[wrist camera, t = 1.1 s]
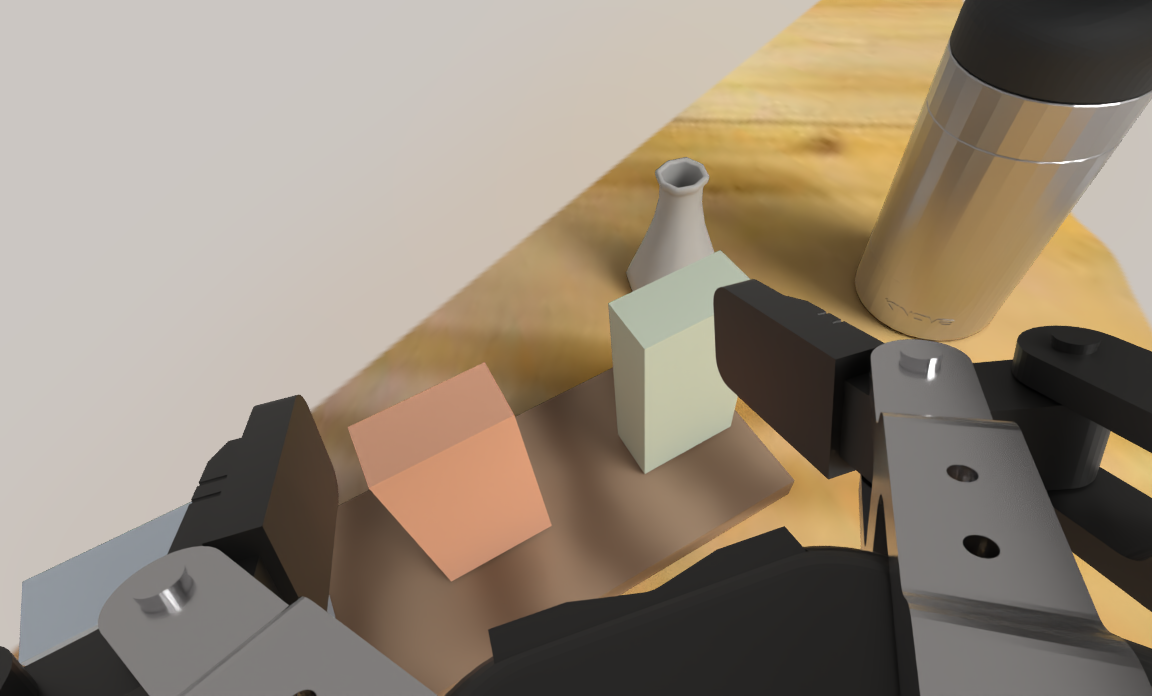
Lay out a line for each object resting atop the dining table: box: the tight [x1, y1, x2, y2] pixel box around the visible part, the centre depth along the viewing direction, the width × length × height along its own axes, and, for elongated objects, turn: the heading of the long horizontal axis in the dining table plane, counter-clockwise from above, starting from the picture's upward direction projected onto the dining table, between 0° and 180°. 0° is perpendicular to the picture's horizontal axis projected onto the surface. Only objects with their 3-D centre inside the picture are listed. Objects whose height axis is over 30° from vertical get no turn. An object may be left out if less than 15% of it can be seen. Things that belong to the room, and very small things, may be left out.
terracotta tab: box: [348, 362, 552, 582], centre depth 29 cm, size 6×3×12 cm, turn 118°
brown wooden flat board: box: [329, 368, 794, 696], centre depth 34 cm, size 32×12×2 cm, turn 118°
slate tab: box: [19, 501, 335, 666], centre depth 26 cm, size 6×3×12 cm, turn 118°
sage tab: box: [608, 250, 750, 474], centre depth 31 cm, size 6×3×12 cm, turn 118°
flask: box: [626, 157, 714, 292], centre depth 42 cm, size 7×7×10 cm
